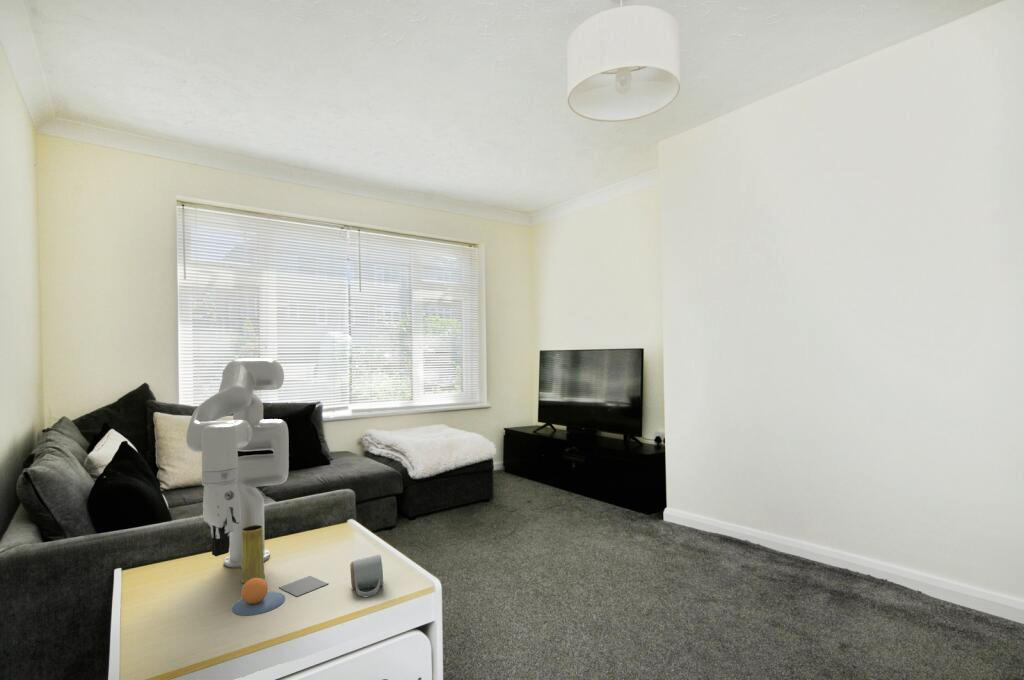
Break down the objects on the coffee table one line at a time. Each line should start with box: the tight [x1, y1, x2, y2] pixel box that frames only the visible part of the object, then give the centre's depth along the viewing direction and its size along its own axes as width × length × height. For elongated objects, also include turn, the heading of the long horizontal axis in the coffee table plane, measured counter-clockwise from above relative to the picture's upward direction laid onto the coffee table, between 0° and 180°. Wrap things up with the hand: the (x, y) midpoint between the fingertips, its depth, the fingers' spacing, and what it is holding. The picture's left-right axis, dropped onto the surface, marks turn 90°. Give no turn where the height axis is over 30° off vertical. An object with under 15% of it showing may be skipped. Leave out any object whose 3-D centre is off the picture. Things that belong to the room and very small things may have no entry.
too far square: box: [278, 575, 329, 598], centre depth 140 cm, size 9×9×1 cm
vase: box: [239, 525, 266, 585], centre depth 145 cm, size 6×6×14 cm
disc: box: [231, 591, 286, 617], centre depth 130 cm, size 12×12×1 cm
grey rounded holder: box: [349, 554, 384, 597], centre depth 137 cm, size 11×8×8 cm
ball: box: [240, 578, 269, 604], centre depth 131 cm, size 6×6×6 cm
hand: (220, 553), depth 124 cm, fingers closed
